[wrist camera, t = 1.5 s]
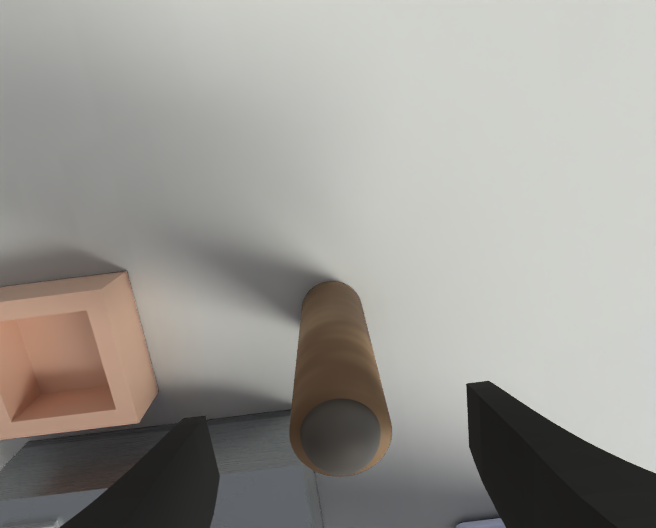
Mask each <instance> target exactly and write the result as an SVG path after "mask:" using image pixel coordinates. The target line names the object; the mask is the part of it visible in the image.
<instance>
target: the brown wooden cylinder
mask: <svg viewBox="0 0 656 528" xmlns="http://www.w3.org/2000/svg"><path fill="white" fill-rule="evenodd" d="M391 437H392V426H391V421H390V416H389V412H388V408H387V404H386V400H385V396H384V392H383V388H382V384H381V380H380V376H379V372H378V368H377V364H376V360H375V356H374V352H373V348H372V344H371V340H370V336H369V332H368V328H367V324H366V320H365V316H364V312H363V308H362V304H361V301H360V298H359V296H358V295H357V293H356V292H355V291H354V290H353V289H352V288H351V287H349V286H348V285H346V284H344V283H340V282H334V281H330V282H324V283H321V284H319V285H317V286H315V287H313V288H312V289H311V290H310V291H309V292H308V293H307V295H306V296H305V298H304V301H303V304H302V312H301V321H300V331H299V341H298V350H297V360H296V370H295V379H294V389H293V399H292V408H291V418H290V428H289V438H290V443H291V446H292V449H293V451H294V453H295V454H296V456H297V457H298V458H299V460H300V461H301V462H302V463H303V464H305V465H306V466H307V467H309V468H310V469H312V470H314V471H316V472H318V473H321V474H324V475H329V476H350V475H355V474H358V473H361V472H363V471H366V470H367V469H369V468H371V467H372V466H374V465H375V464H376V463H377V462H378V461H379V460H380V459H381V458H382V457H383V456H384V455H385V453H386V451H387V450H388V447H389V445H390V442H391Z"/></svg>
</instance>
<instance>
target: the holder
mask: <svg viewBox="0 0 656 528" xmlns="http://www.w3.org/2000/svg"><path fill="white" fill-rule="evenodd" d="M158 392H159V390H158V387H157V383H156V379H155V375H154V371H153V368H152V364H151V360H150V356H149V352H148V349H147V345H146V341H145V337H144V333H143V330H142V326H141V322H140V318H139V314H138V311H137V307H136V303H135V299H134V295H133V291H132V288H131V284H130V280H129V276H128V272H127V271H122V272H115V273H107V274H99V275H91V276H83V277H75V278H68V279H60V280H52V281H44V282H36V283H28V284H21V285H13V286H5V287H0V440H5V439H13V438H21V437H29V436H38V435H46V434H54V433H62V432H70V431H79V430H87V429H95V428H103V427H111V426H120V425H128V424H136V423H139V422H140V421H141V419H142V417H143V416H144V414H145V413H146V411H147V409H148V408H149V406H150V405H151V403H152V402H153V400H154V398H155V397H156V395H157V394H158Z"/></svg>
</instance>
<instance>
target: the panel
mask: <svg viewBox="0 0 656 528" xmlns="http://www.w3.org/2000/svg"><path fill="white" fill-rule="evenodd" d="M290 418H291V410H285V411H276V412H268V413H260V414H252V415H244V416H235V417H227V418H219V419H211V420H207V424H208V428H209V433H210V437H211V441H212V445H213V450H214V454H215V458H216V462H217V467H218V471H219V475H220V480H219V486H218V493H217V499H216V505H215V510H214V515H213V519H212V522H211V526H210V528H324V526H323V520H322V513H321V507H320V501H319V495H318V489H317V483H316V476H315V471H314V470H312V469H310V468H309V467H307V466H306V465H305V464H303V463H302V462H301V461H300V460H299V458H298V457H297V456H296V454H295V453H294V451H293V449H292V446H291V443H290V438H289V428H290ZM176 425H177V424H170V425H161V426H153V427H145V428H137V429H129V430H120V431H112V432H104V433H96V434H87V435H79V436H71V437H63V438H55V439H46V440H38V441H30V442H27V443H26V444H25V446H24V447H23V448H22V449H21V450H20V451H19V452H18V453H17V454H16V455H15V456H14V457H13V458H12V459H11V460H10V461H9V462H8V463H7V464H6V465H5V467H4V468H3V469H2V470H1V471H0V528H59V527H60V526H62V525H63V524H64V523H66V522H67V521H68V520H70V519H71V518H72V517H74V516H75V515H76V514H78V513H79V512H80V511H82V510H83V509H84V508H85V507H87V506H88V505H89V504H90V503H92V502H93V501H94V500H95V499H97V498H98V497H99V496H100V495H101V494H102V493H104V492H105V491H106V490H107V489H108V488H109V487H110V486H112V485H113V484H114V483H115V482H116V481H117V480H118V479H119V478H121V477H122V476H123V475H124V474H125V473H126V472H127V471H129V470H130V469H131V468H132V467H133V466H134V465H135V464H136V463H137V462H138V461H139V460H140V459H141V458H142V457H143V456H144V455H146V454H147V453H148V452H149V451H150V450H151V449H152V448H153V447H154V446H155V445H156V444H157V443H158V442H159V441H160V440H161V439H162V438H163V437H164V436H165V435H166V434H167V433H168V432H169V431H170V430H171V429H172V428H174V427H175V426H176Z"/></svg>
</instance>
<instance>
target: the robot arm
mask: <svg viewBox="0 0 656 528" xmlns="http://www.w3.org/2000/svg"><path fill="white" fill-rule="evenodd" d="M466 385H467V407H468V430H469V448H470V450H471V453H472V456H473V459H474V461H475V464H476V467H477V469H478V472H479V475H480V477H481V480H482V482H483V484H484V486H485V488H486V490H487V492H488V494H489V496H490V498H491V500H492V502H493V504H494V506H495V508H496V510H497V512H498V514H499V516H500V517H501V518H497V519H488V520H480V521H471V522H463V523H460V524H458V525H457V526H456V527H455V528H656V473H653V472H651V471H648V470H646V469H643V468H641V467H639V466H636V465H634V464H632V463H629V462H627V461H625V460H623V459H621V458H619V457H617V456H615V455H612V454H610V453H608V452H606V451H604V450H602V449H600V448H598V447H596V446H594V445H592V444H590V443H588V442H586V441H584V440H583V439H581V438H579V437H577V436H575V435H574V434H572V433H570V432H568V431H567V430H565V429H563V428H561V427H560V426H558V425H556V424H555V423H553V422H551V421H550V420H548V419H546V418H545V417H543V416H542V415H540V414H538V413H537V412H535V411H534V410H532V409H531V408H529V407H528V406H526V405H525V404H523V403H522V402H520V401H519V400H517V399H516V398H514V397H513V396H511V395H510V394H508V393H507V392H505V391H504V390H502V389H501V388H499V387H498V386H496V385H495V384H493V383H491V382H490V381H484V382H476V383H468V384H466ZM219 480H220V475H219V471H218V467H217V462H216V458H215V454H214V450H213V445H212V441H211V437H210V433H209V428H208V424H207V420H206V416H199V417H191V418H184V419H182V420H181V421H180V422H179V423H178V424H177V425H176V426H175V427H174V428H172V429H171V430H170V431H169V432H168V433H167V434H166V435H165V436H164V437H163V438H162V439H161V440H160V441H159V442H158V443H157V444H156V445H155V446H154V447H153V448H152V449H151V450H150V451H149V452H148V453H147V454H146V455H144V456H143V457H142V458H141V459H140V460H139V461H138V462H137V463H136V464H135V465H134V466H133V467H132V468H131V469H130V470H129V471H127V472H126V473H125V474H124V475H123V476H122V477H121V478H119V479H118V480H117V481H116V482H115V483H114V484H113V485H112V486H110V487H109V488H108V489H107V490H106V491H105V492H104V493H102V494H101V495H100V496H99V497H98V498H97V499H95V500H94V501H93V502H92V503H90V504H89V505H88V506H87V507H85V508H84V509H83V510H82V511H80V512H79V513H78V514H76V515H75V516H74V517H72V518H71V519H70V520H68V521H67V522H66V523H64V524H63V525H62V526H60V527H59V528H210V526H211V522H212V519H213V515H214V510H215V505H216V499H217V493H218V486H219Z"/></svg>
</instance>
